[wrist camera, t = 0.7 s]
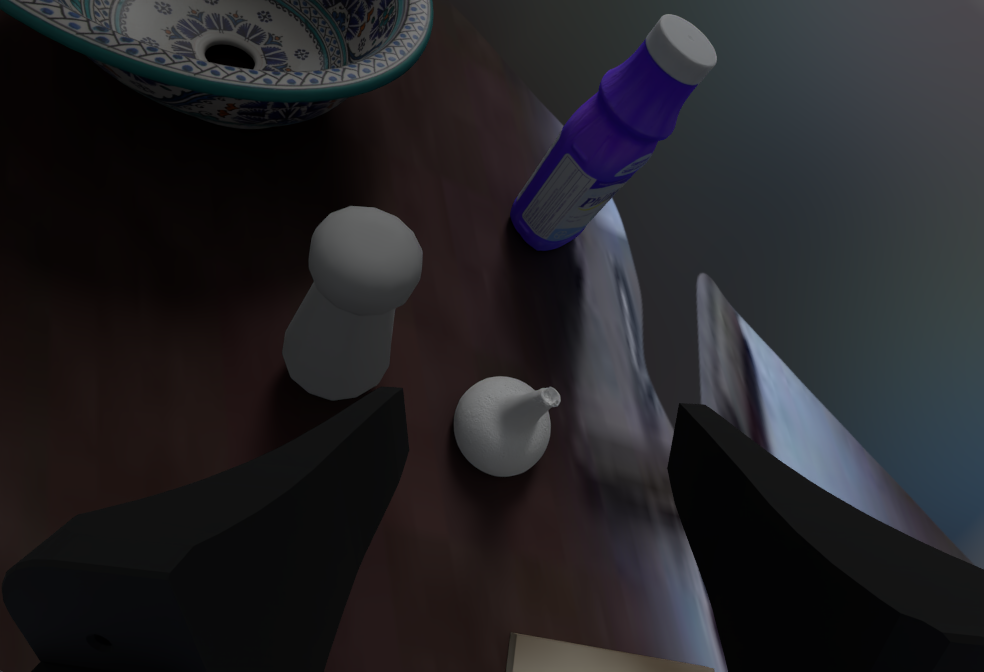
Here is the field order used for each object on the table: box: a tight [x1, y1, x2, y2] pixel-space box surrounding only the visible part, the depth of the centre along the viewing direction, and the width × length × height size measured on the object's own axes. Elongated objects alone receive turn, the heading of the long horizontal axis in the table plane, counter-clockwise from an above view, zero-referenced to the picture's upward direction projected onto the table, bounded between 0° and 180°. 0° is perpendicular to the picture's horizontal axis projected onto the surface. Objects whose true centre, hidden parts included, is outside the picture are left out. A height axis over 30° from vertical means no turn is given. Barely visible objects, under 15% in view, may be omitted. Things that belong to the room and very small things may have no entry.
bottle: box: [510, 14, 717, 251], centre depth 32 cm, size 7×6×17 cm
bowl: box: [0, 0, 433, 129], centre depth 29 cm, size 25×25×10 cm
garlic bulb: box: [454, 376, 561, 477], centre depth 27 cm, size 6×6×8 cm
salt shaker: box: [282, 206, 423, 401], centre depth 22 cm, size 6×6×13 cm
